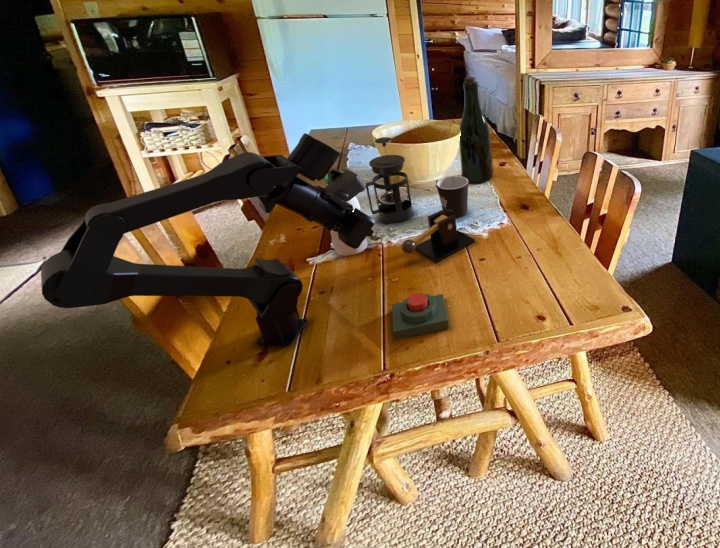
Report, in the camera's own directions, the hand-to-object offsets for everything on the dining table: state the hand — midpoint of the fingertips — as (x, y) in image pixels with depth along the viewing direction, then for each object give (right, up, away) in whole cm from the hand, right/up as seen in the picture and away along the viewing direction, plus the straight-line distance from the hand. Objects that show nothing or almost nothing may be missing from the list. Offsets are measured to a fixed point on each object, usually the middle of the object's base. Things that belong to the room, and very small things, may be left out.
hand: (372, 233), depth 91 cm
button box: (+11, -17, -4) cm, 21 cm away
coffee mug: (+10, +3, +35) cm, 37 cm away
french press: (-6, +2, +33) cm, 33 cm away
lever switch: (+11, -5, +19) cm, 23 cm away
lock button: (+11, -14, -6) cm, 19 cm away
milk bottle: (-12, -5, +19) cm, 23 cm away
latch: (+8, -3, +14) cm, 16 cm away
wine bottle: (+14, +14, +56) cm, 60 cm away
